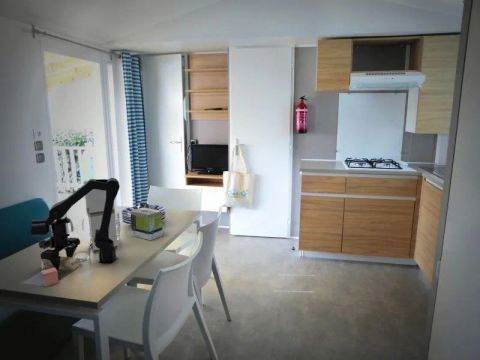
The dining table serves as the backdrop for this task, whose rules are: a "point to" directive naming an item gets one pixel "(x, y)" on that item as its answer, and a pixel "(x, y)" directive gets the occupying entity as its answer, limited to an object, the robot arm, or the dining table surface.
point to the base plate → (39, 279)
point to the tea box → (146, 223)
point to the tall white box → (99, 215)
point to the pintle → (43, 265)
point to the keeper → (50, 276)
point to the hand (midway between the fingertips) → (63, 266)
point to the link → (64, 263)
